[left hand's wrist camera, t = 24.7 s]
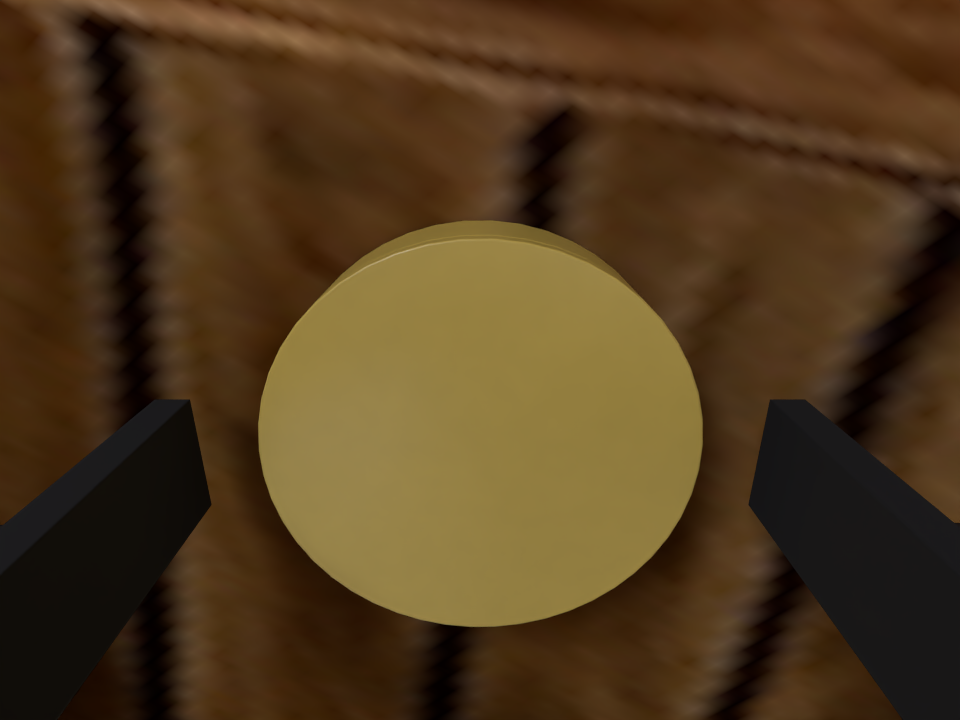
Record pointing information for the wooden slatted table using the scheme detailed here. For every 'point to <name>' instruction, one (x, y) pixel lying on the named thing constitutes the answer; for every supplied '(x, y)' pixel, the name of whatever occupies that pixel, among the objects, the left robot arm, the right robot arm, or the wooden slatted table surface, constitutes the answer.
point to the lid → (480, 426)
